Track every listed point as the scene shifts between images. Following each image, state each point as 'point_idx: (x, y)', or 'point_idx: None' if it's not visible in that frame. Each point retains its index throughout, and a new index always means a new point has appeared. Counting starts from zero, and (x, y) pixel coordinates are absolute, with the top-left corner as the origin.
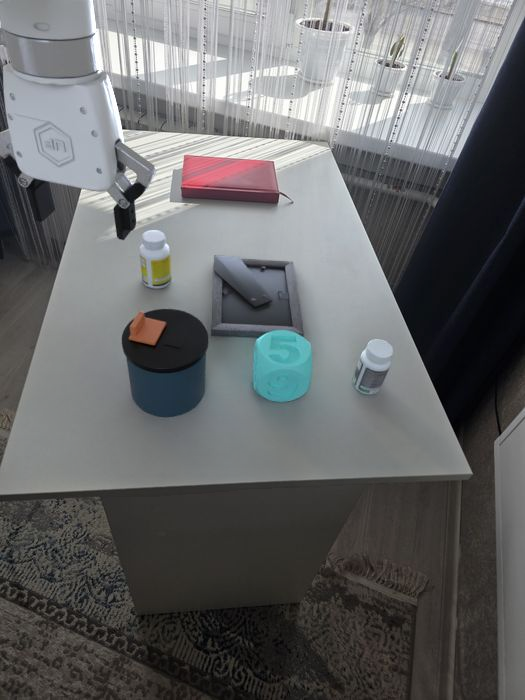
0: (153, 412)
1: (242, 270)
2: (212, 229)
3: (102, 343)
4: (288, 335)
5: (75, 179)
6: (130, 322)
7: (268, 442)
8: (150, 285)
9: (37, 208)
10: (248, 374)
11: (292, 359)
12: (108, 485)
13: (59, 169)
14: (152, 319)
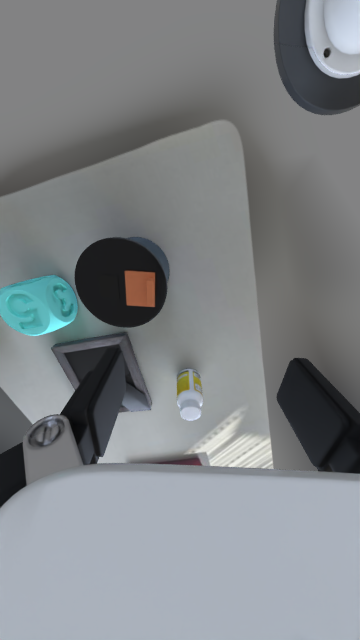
0: (138, 237)
1: (123, 399)
2: (165, 433)
3: (208, 304)
4: (28, 329)
5: (179, 526)
6: (164, 298)
7: (36, 231)
8: (190, 370)
9: (313, 381)
10: None
11: (14, 302)
12: (148, 147)
13: (292, 606)
14: (141, 305)
